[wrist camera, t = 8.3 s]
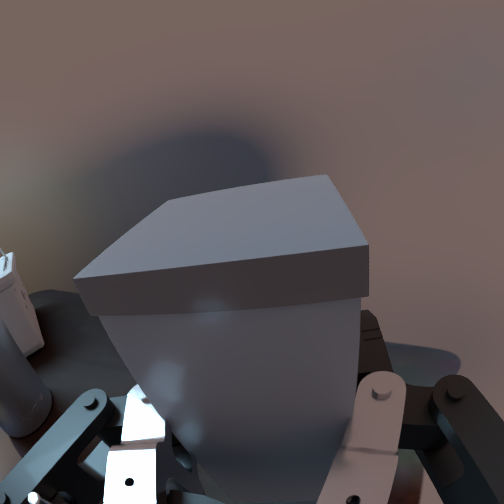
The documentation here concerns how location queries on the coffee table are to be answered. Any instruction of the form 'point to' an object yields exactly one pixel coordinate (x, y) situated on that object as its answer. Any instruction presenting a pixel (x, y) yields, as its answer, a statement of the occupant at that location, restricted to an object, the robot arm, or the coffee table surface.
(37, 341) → the stereo radio cassette player
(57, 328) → the coffee table surface
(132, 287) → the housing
